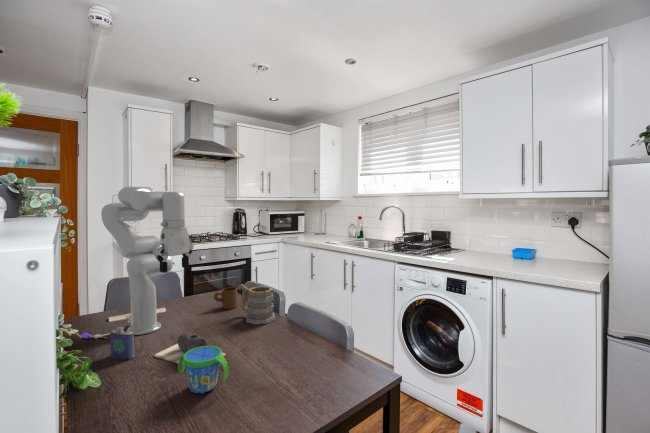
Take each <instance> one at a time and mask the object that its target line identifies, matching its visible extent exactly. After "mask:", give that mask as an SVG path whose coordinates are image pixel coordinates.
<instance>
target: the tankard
mask: <svg viewBox="0 0 650 433" xmlns="http://www.w3.org/2000/svg"><path fill="white" fill-rule="evenodd" d="M237 290H242V297H241V301H240V302H241V303H240V304H241V309H242V311H243V313H246V321H245V322H246V323H249V324H252V325H264V324H269V323H271V322H273V321H275V320H276V316H275V312H274V307H275V306H274V303H273V301H274V294H273V293H274V292H273V290H272V287H270V286H264V285H263V286H254V287H251V288H250V287H249V288H248V287H247V286H245V284H244V283H241V284H239V285H237ZM246 302H247V303H248V304H247V303H246Z"/></svg>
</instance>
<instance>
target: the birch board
mask: <svg viewBox="0 0 650 433" xmlns="http://www.w3.org/2000/svg"><path fill="white" fill-rule="evenodd" d="M184 354H185V353H184V352H182V351H181V350H180V348H179V346H178V343H175V344H174V345H171V346H169V347H167V348H165V349H163V350H160V351H159V352H157V353H155V354H154V357H155V358H158V359H161V360H165V361H168V362H171V363H175V364H179V360H180V357H181V356H182V355H184ZM222 356H223V357H224V358H225V357H226V353H225V352H222ZM184 365H185V364H184Z"/></svg>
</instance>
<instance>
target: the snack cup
mask: <svg viewBox="0 0 650 433" xmlns="http://www.w3.org/2000/svg"><path fill="white" fill-rule="evenodd" d="M222 353H223V351H222V349H221V348H220V347H218V346H214V345H207V346H201V347H197V348H194V349H191V350H189V351H188V352H186V353H185V354H184V355H182V356H181V357H180V360H179V364H178V363H177V364H178V365H177V373H178V374H182V373H184V372H185V371H186V372H185V373H186V377H187V384H188V388H189V391H190V392H191V393H194V394H202V395H203V394H205V393H208V392H210V391H213V390H215V388H216V386H217V384H218V380H219V372H220V366H221V367H222V369H223V375H222V376H223V378H222V381H223V382H225V381H226V380H227V379H228V377H229V374H230V370H229V365H228V362H227V360H226V358H225V356H224V357H223V356H222ZM184 364H185V365H184Z"/></svg>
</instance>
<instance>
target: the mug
mask: <svg viewBox="0 0 650 433" xmlns="http://www.w3.org/2000/svg"><path fill="white" fill-rule="evenodd" d="M218 296H221V297H219V298H218ZM213 299H214V300H215V301H216V302H219V303H221V307H222V309H224V310H233V309H235V308H237V307H238V287H233V286H232V287H231V286H229V287H224V288H222V289H221V291H217V292H215V293H214V295H213Z"/></svg>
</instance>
